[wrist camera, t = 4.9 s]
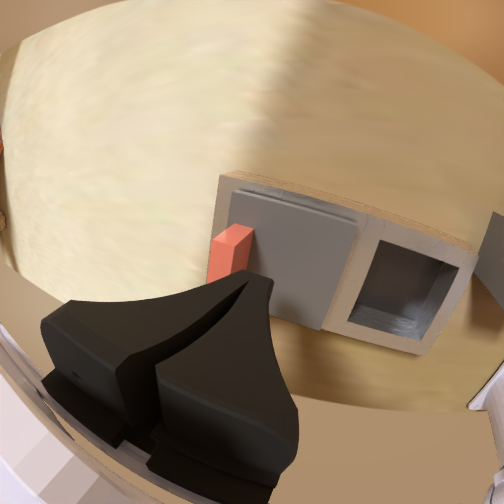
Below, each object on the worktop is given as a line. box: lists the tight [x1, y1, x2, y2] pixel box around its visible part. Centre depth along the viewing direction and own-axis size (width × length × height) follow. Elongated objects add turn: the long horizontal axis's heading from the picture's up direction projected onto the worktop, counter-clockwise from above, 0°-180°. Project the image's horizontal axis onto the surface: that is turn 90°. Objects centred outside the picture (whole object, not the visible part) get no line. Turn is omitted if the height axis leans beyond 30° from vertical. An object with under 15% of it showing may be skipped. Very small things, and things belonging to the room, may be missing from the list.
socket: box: [206, 171, 480, 356], centre depth 14 cm, size 14×7×2 cm, turn 79°
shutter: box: [207, 190, 358, 331], centre depth 12 cm, size 6×6×3 cm
